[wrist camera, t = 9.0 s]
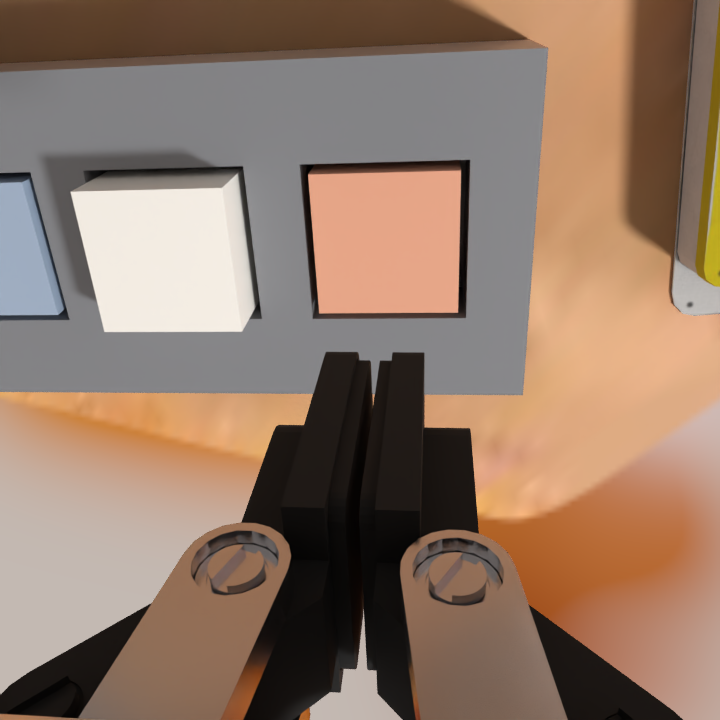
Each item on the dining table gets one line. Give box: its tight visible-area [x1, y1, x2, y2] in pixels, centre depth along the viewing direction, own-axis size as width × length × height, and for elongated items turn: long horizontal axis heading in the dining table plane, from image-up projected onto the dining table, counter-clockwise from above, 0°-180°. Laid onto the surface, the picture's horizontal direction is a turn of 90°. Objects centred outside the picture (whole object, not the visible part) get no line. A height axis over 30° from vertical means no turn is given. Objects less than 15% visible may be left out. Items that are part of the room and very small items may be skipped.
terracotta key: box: [308, 160, 461, 313], centre depth 25 cm, size 5×5×3 cm
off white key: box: [71, 167, 260, 332], centre depth 24 cm, size 5×5×3 cm
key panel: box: [0, 39, 548, 395], centre depth 27 cm, size 12×25×4 cm, turn 93°
